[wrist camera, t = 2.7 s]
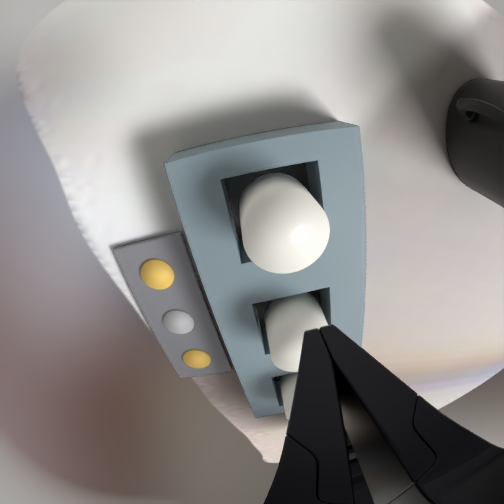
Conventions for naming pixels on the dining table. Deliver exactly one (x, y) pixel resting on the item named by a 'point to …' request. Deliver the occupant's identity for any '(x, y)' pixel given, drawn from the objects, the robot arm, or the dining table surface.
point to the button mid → (291, 327)
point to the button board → (249, 274)
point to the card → (173, 304)
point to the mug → (478, 137)
